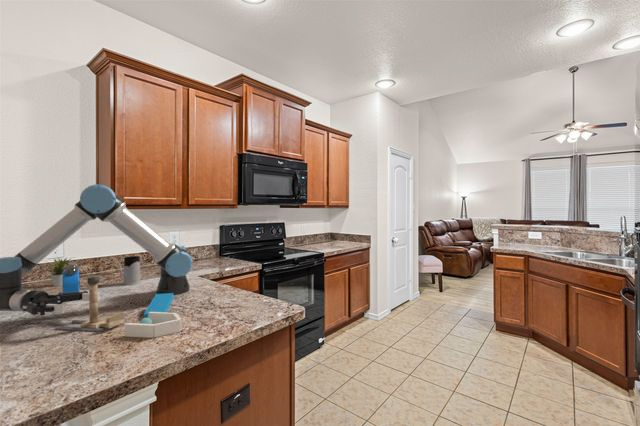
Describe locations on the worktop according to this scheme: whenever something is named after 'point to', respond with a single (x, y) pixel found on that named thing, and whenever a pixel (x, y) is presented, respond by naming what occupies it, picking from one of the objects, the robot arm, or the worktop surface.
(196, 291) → the worktop surface
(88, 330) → the track
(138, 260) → the glass holder
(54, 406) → the worktop surface
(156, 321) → the pocket
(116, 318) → the plunger
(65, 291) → the alarm clock
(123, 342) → the worktop surface
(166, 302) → the blue long block
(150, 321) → the ball
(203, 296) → the worktop surface
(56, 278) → the house plant
